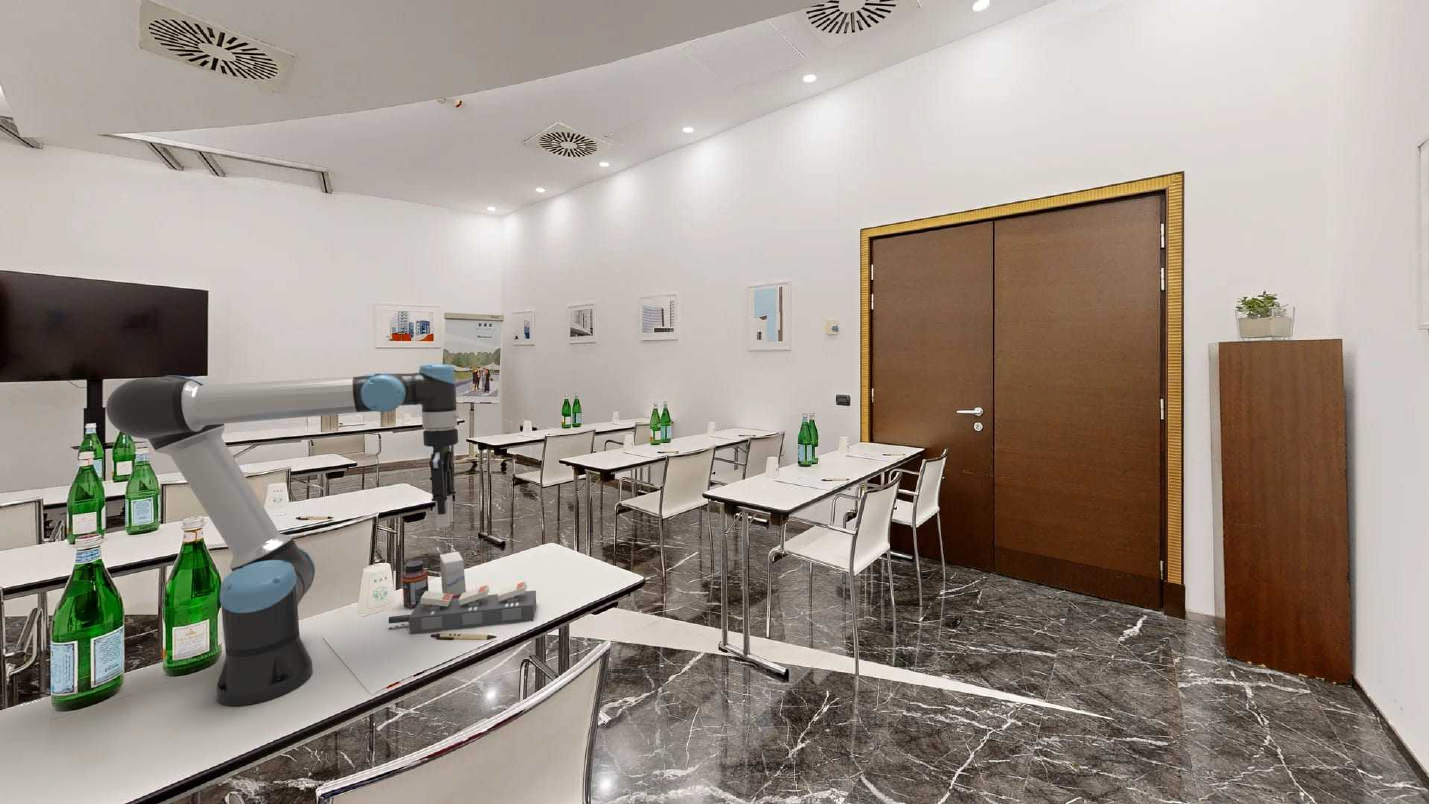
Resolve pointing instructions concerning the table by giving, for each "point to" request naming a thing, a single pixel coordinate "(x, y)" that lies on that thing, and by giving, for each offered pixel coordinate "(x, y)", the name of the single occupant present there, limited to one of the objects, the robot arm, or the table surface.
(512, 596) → the rocker
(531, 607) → the rocker switch strip
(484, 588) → the rocker
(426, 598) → the rocker
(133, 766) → the table surface
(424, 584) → the supplement bottle
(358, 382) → the robot arm
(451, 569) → the ink box
